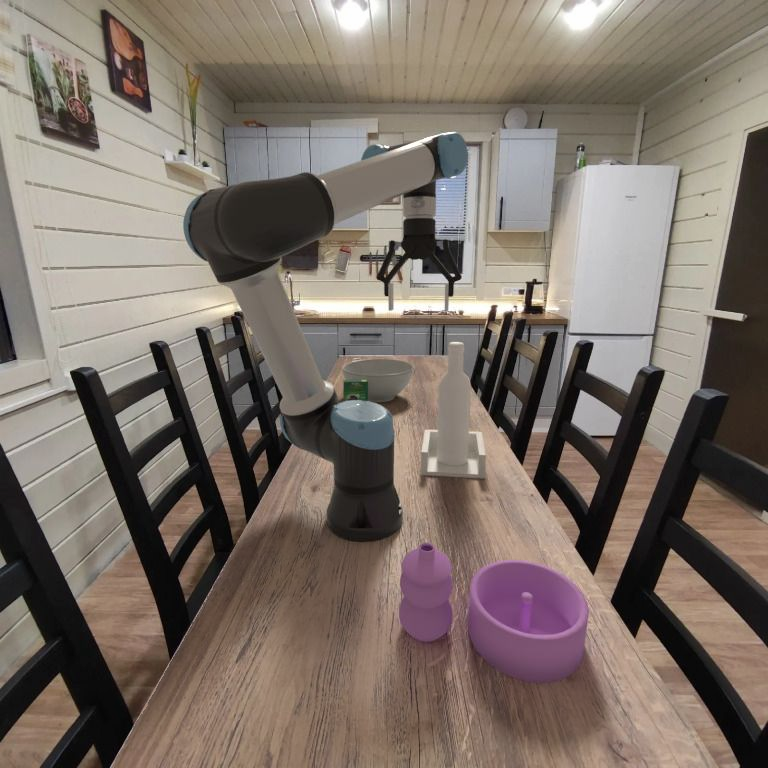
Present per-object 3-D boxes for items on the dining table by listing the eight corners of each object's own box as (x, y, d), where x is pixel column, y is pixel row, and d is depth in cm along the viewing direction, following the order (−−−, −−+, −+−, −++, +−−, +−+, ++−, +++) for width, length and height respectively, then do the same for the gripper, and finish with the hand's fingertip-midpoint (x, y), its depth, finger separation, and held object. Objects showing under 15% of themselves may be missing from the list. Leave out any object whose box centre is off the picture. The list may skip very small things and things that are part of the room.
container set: (564, 598, 70) (573, 522, 67) (600, 687, 56) (614, 596, 52) (401, 589, 72) (402, 515, 69) (395, 673, 58) (395, 584, 54)
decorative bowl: (410, 387, 185) (411, 358, 182) (417, 408, 160) (417, 374, 156) (344, 388, 185) (343, 359, 182) (340, 409, 159) (339, 375, 156)
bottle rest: (484, 478, 108) (485, 455, 107) (420, 474, 110) (421, 452, 109) (480, 452, 123) (481, 431, 121) (424, 450, 125) (424, 429, 123)
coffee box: (368, 416, 151) (367, 378, 148) (369, 419, 149) (368, 380, 145) (343, 418, 150) (342, 379, 147) (344, 421, 147) (343, 381, 144)
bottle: (467, 467, 112) (473, 346, 104) (435, 465, 113) (438, 345, 105) (468, 454, 119) (473, 340, 111) (438, 452, 121) (440, 339, 113)
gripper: (363, 218, 105) (365, 311, 111) (473, 215, 100) (470, 312, 106) (370, 220, 112) (372, 308, 118) (474, 218, 107) (470, 309, 113)
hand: (418, 310), depth 112 cm, fingers open, 13 cm apart
